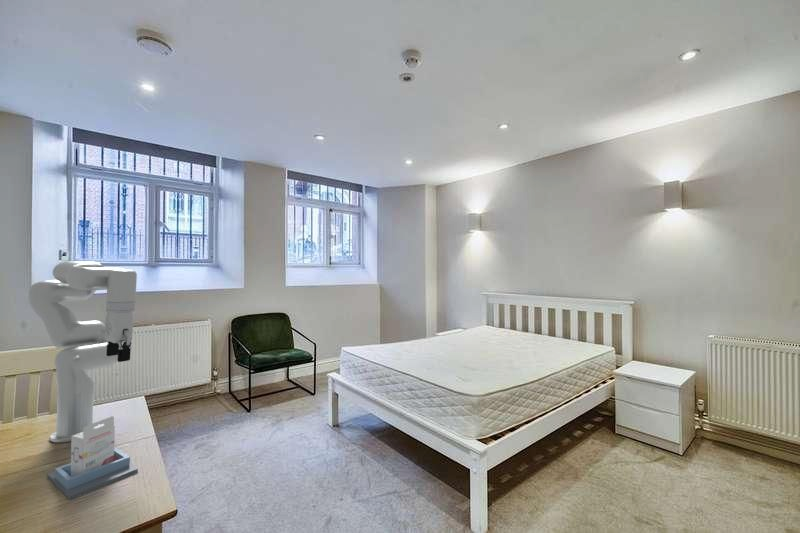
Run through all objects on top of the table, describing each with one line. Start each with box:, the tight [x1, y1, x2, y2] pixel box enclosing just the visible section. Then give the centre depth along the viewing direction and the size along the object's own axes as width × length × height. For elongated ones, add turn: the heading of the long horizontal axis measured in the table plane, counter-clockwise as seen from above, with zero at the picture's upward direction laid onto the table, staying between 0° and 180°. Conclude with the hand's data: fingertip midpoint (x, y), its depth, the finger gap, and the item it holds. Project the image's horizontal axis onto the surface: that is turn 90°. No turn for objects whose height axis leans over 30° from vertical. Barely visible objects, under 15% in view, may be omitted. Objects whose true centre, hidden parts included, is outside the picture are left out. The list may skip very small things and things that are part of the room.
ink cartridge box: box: [70, 416, 116, 477], centre depth 101 cm, size 9×5×15 cm, turn 164°
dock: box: [46, 447, 139, 501], centre depth 101 cm, size 18×15×4 cm
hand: (118, 358), depth 115 cm, fingers open, 9 cm apart
